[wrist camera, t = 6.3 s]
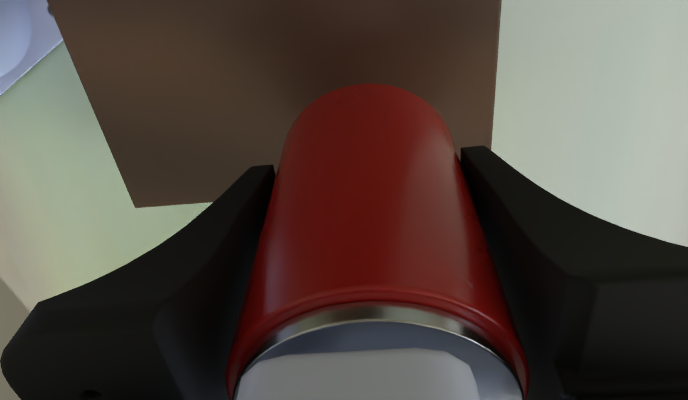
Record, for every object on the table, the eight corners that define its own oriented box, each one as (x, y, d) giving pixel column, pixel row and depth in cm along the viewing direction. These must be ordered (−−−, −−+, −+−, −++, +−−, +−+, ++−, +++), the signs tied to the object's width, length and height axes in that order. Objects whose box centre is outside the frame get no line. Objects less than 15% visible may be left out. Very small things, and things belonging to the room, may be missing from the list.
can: (247, 143, 14) (149, 391, 7) (397, 44, 12) (441, 254, 6) (346, 254, 16) (337, 518, 10) (483, 183, 15) (586, 446, 8)
